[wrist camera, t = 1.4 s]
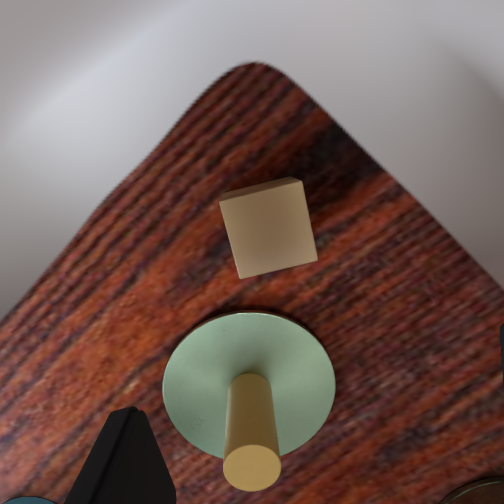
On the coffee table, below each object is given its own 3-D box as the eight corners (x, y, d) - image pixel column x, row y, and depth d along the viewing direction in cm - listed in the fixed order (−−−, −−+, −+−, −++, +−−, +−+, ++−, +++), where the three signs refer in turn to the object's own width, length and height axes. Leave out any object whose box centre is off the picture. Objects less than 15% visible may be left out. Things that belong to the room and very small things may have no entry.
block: (290, 175, 23) (302, 180, 18) (304, 241, 24) (318, 260, 19) (222, 192, 23) (218, 201, 18) (240, 257, 24) (239, 279, 20)
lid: (314, 287, 25) (345, 342, 17) (344, 431, 28) (381, 528, 21) (143, 328, 25) (102, 399, 18) (192, 465, 28) (175, 572, 21)
